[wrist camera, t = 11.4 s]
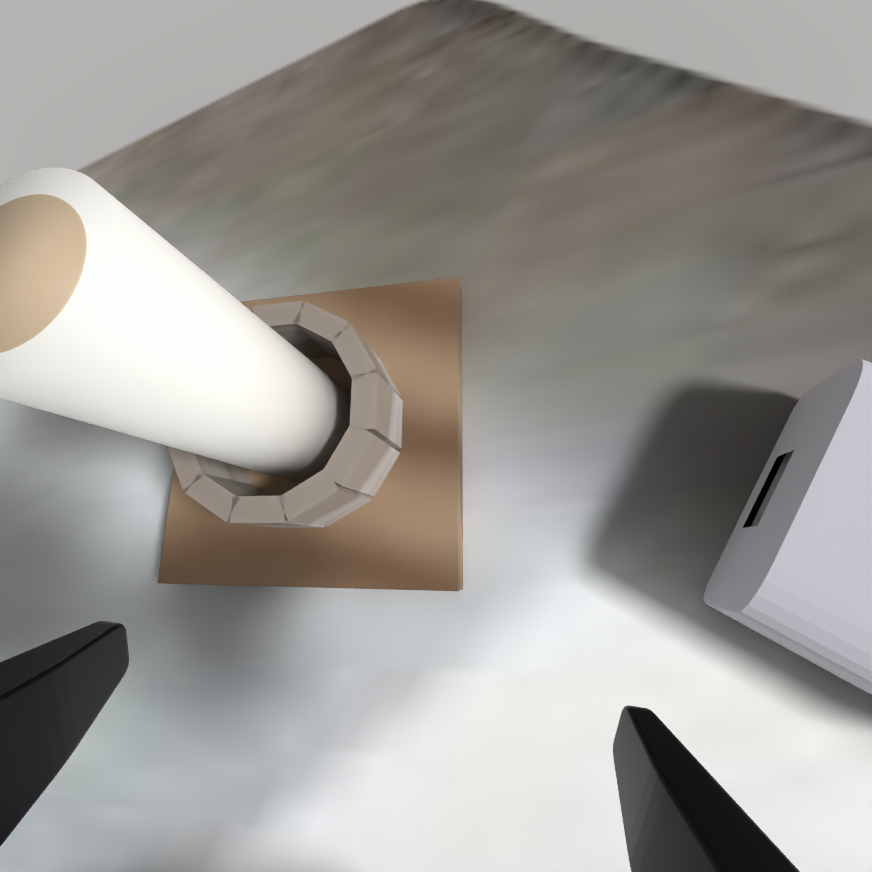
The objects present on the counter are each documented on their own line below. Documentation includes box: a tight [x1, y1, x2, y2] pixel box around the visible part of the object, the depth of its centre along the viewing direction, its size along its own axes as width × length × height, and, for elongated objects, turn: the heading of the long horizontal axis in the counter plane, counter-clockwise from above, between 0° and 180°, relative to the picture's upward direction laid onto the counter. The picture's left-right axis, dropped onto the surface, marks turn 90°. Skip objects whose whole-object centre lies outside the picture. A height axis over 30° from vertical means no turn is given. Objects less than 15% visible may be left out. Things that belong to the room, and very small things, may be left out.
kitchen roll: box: [0, 168, 351, 483], centre depth 16 cm, size 5×5×13 cm
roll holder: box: [158, 277, 463, 591], centre depth 21 cm, size 14×14×5 cm
